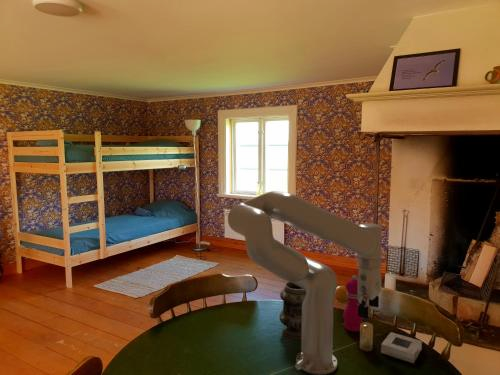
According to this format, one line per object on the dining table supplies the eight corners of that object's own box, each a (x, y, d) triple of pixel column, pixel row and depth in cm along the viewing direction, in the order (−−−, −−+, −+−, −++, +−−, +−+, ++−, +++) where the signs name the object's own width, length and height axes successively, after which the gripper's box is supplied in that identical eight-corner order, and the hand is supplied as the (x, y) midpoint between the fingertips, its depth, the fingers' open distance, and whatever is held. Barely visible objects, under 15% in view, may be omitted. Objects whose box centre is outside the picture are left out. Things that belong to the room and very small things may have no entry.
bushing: (369, 352, 122) (370, 329, 121) (357, 348, 124) (358, 325, 123) (373, 347, 125) (374, 324, 124) (362, 343, 127) (362, 321, 126)
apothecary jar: (302, 344, 126) (302, 293, 125) (272, 334, 134) (273, 285, 132) (318, 330, 136) (319, 283, 134) (290, 321, 143) (290, 276, 141)
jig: (413, 363, 115) (413, 354, 115) (381, 352, 121) (381, 344, 121) (421, 349, 123) (421, 341, 123) (390, 340, 129) (390, 332, 129)
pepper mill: (365, 332, 135) (367, 278, 133) (345, 332, 135) (346, 278, 133) (360, 323, 142) (361, 272, 140) (340, 323, 142) (342, 272, 140)
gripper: (371, 271, 112) (370, 325, 114) (389, 256, 126) (388, 305, 128) (347, 266, 117) (347, 318, 119) (367, 253, 130) (366, 300, 132)
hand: (368, 311), depth 123 cm, fingers open, 9 cm apart
